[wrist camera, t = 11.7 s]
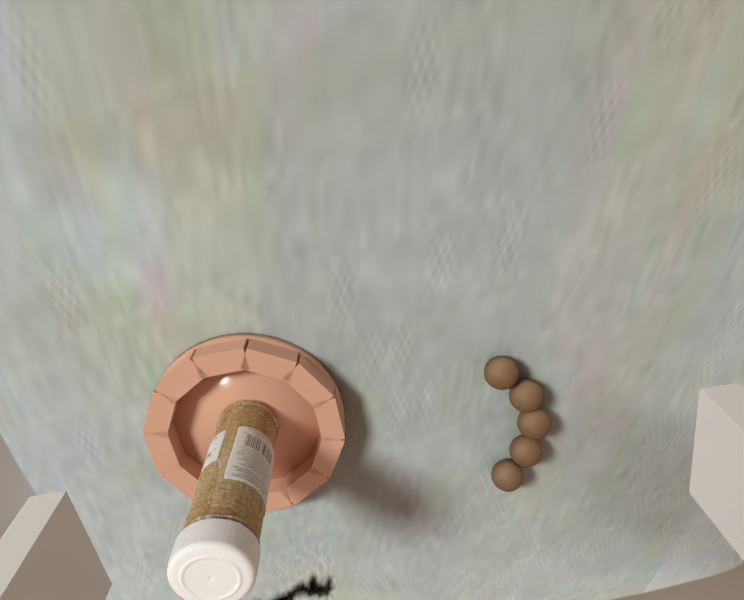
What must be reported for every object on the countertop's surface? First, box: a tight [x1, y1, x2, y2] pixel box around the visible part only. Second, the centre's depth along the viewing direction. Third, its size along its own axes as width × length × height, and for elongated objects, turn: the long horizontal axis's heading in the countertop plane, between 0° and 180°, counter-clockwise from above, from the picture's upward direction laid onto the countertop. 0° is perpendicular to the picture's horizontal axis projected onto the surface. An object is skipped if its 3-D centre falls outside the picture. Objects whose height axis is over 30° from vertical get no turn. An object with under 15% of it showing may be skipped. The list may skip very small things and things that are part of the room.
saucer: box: [143, 333, 345, 511], centre depth 41 cm, size 14×14×2 cm
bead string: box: [484, 356, 551, 492], centre depth 42 cm, size 12×5×2 cm, turn 11°
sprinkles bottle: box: [167, 400, 279, 600], centre depth 35 cm, size 5×5×13 cm
